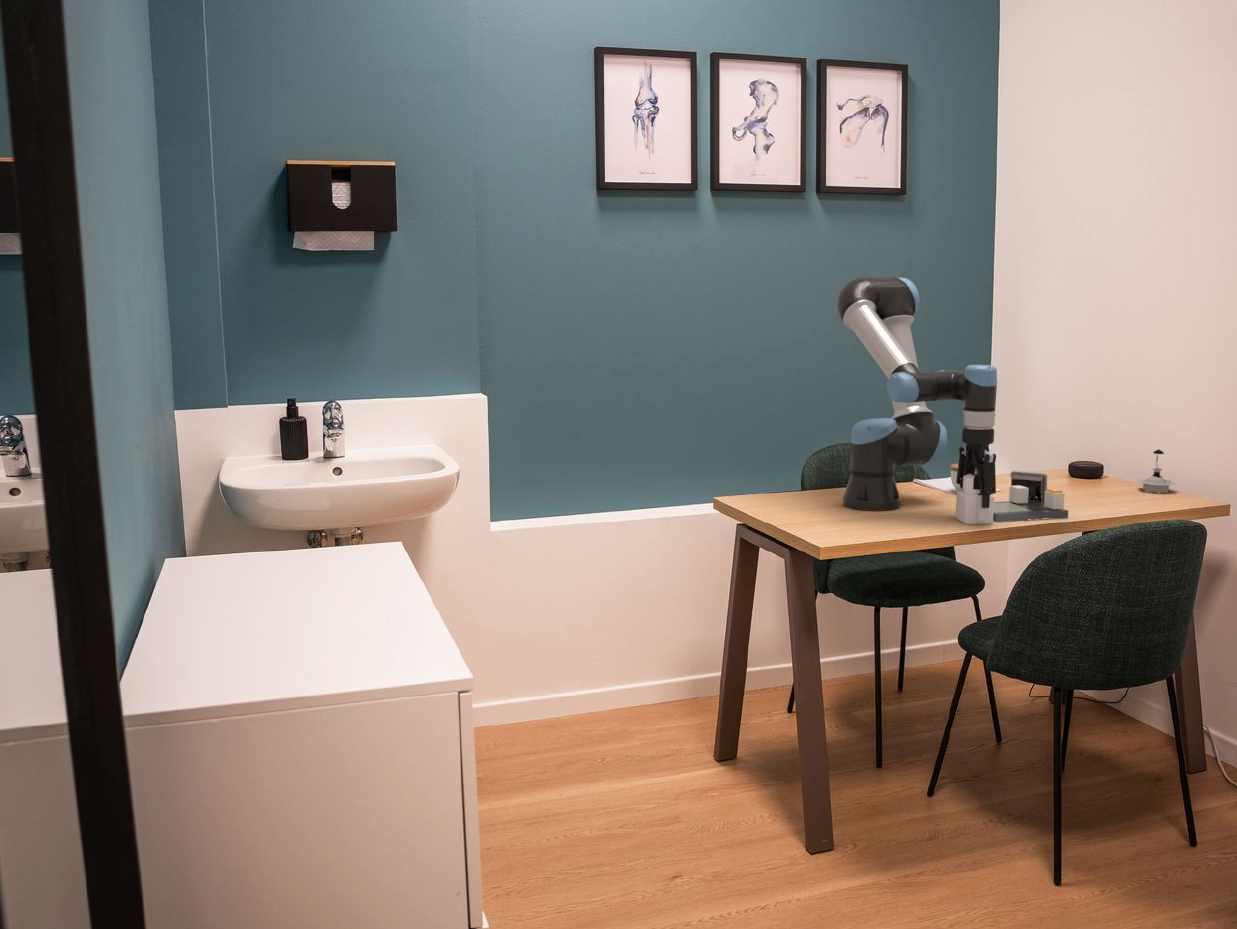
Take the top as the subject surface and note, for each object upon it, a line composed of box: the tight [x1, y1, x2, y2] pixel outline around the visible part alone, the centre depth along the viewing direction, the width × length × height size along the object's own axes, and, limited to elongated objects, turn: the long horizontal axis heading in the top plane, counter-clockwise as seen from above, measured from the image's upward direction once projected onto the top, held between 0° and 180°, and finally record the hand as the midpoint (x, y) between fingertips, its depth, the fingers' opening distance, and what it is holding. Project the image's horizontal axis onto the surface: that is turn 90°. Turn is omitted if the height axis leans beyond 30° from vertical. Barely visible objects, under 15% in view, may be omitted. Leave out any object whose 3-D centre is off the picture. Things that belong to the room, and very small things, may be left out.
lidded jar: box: [950, 462, 977, 492], centre depth 299 cm, size 11×11×9 cm
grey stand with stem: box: [1136, 448, 1177, 494], centre depth 299 cm, size 12×10×10 cm
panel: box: [993, 500, 1069, 523], centre depth 270 cm, size 20×14×2 cm
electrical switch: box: [1010, 470, 1048, 502], centre depth 282 cm, size 9×5×9 cm, turn 57°
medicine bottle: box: [955, 474, 995, 525], centre depth 262 cm, size 7×7×12 cm
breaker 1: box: [1008, 485, 1029, 504], centre depth 274 cm, size 3×4×4 cm
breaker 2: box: [1044, 488, 1065, 509], centre depth 267 cm, size 3×4×5 cm
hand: (974, 516), depth 263 cm, fingers closed on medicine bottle, 8 cm apart
